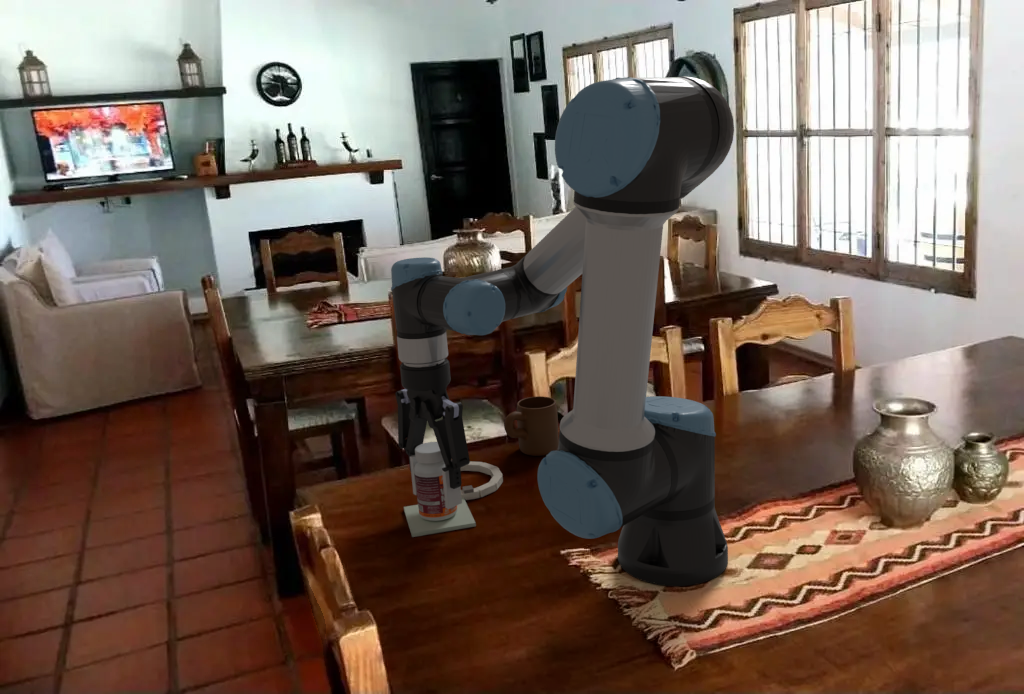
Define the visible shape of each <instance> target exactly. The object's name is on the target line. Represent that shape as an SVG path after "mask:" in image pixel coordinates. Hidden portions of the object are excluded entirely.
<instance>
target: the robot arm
mask: <svg viewBox="0 0 1024 694" xmlns="http://www.w3.org/2000/svg"><path fill="white" fill-rule="evenodd" d="M734 134H735V125H734V116H733V113H732V109H731V107H730V105H729V103H728V101H727V99H726V98H725V96H724V95H723V94H722V92H720V91H719V90H718V89H717V88H716V87H714V85H712V84H711V83H708V82H707V81H705V80H703V79H700V78H697V77H692V76H683V75H682V76H681V75H679V76H678V75H677V76H671V77H630V76H626V77H616V78H613V79H612V78H611V79H608V80H607V79H606V80H599V81H596V82H593V83H591V84H589V85H587V86H585V87H583V88H582V89H580V90H579V91H578V93H576V94H575V96H574V97H573V98H572V99H571V100H570V101H569V102H568V103H567V105H566V106H565V108H564V109H563V112H561V115H560V118H559V121H558V123H557V127H556V131H555V138H554V156H555V162H556V165H557V168H558V169H560V170H561V171H562V174H561V177H562V179H563V181H564V182H565V183H566V184H567V185H568V186H569V188H570V189H572V191H573V190H574V191H573V192H574V193H573V206H575V207H574V208H573V209H572V210H571V211H569V213H567V215H565V216H564V217H563V218H562V219H561V220H560V221H559V222H558V223H557V224H556V225H555V226H554V227H553V228H552V229H551V230H550V231H549V232H547V234H545V236H544V237H542V239H541V240H539V242H538V243H536V245H534V247H533V248H532V249H530V250H529V251H528V252H527V254H525V255H524V256H523V257H522V258H521V259H520V260H519V261H518V262H517V263H516V264H514V265H512V266H510V267H505V268H500V269H496V270H492V271H487V272H483V273H479V274H474V275H470V276H464V277H454V276H453V277H452V276H445V275H443V273H444V272H443V269H442V266H441V262H440V261H439V260H438V259H437V258H435V257H413V258H412V257H411V258H404V259H401V260H397V261H395V262H394V263H393V264H392V266H391V267H390V273H391V287H390V291H391V295H392V302H393V303H392V305H393V310H394V311H393V312H394V321H395V328H396V343H397V354H398V359H399V361H400V362H401V364H400V365H399V369H400V372H399V373H400V380H401V385H402V387H403V388H404V389H400V390H397V391H396V392H395V399H396V404H397V430H398V431H397V432H398V434H397V436H398V437H397V441H398V443H397V444H398V448H399V449H401V450H402V449H404V450H405V454H406V455H408V462H409V463H408V464H409V470H410V473H411V474H410V475H411V482H412V483H411V484H412V494H413V495H414V496H417V491H416V483H415V475H414V467H415V465H416V463H417V461H416V458H415V448H416V447H417V446H418V445H421V444H423V443H424V440H425V434H426V429H427V424H428V426H429V428H431V429H432V430H433V433H434V437H435V440H436V442H438V445H439V448H440V451H441V454H442V457H443V461H444V464H445V467H444V468H442V475H443V486H444V497H445V508H447V509H450V508H452V507H454V506H457V505H459V504H461V503H462V499H461V490H462V489H461V488H462V483H463V482H462V471H461V470H460V468H461V467H463V466H465V465H468V464H469V463H470V461H471V459H470V455H469V449H468V444H467V437H466V431H465V425H464V421H463V410H464V409H463V408H464V407H463V403H462V402H461V401H458V402H453V401H452V400H450V398H449V397H450V396H449V395H448V391H447V388H448V386H449V384H450V383H451V380H452V378H451V377H452V375H451V367H450V366H451V365H450V361H449V360H448V356H449V349H448V348H449V347H448V336H447V331H453V332H456V333H460V334H461V335H464V334H465V335H467V336H487V335H490V334H492V333H493V332H494V331H495V330H496V329H497V328H498V327H499V326H500V325H501V324H502V323H503V322H506V321H509V320H514V319H517V318H521V317H525V316H528V315H532V314H538V313H539V314H540V313H544V312H546V311H548V310H549V309H552V308H554V307H555V308H556V307H557V306H558V305H560V304H561V303H562V302H563V301H564V299H565V296H566V293H567V290H568V286H570V285H571V284H572V283H573V282H575V280H577V278H579V277H580V276H582V277H581V286H580V287H581V288H580V289H581V291H580V304H579V317H578V318H579V319H578V320H579V321H578V333H577V334H578V335H577V348H576V362H575V363H576V364H575V378H574V379H575V380H574V392H573V393H574V394H573V407H572V408H573V409H572V410H570V411H569V412H568V413H566V414H565V415H564V416H563V417H562V418H561V420H560V423H559V429H558V437H559V446H558V449H557V450H555V451H551V452H550V453H549V454H548V455H545V457H543V458H542V459H541V461H540V463H539V465H538V468H537V477H536V478H537V485H538V490H539V493H540V496H541V498H542V501H543V503H544V505H545V506H546V508H547V509H548V511H549V512H550V515H551V516H552V517H553V519H554V520H555V521H556V522H557V523H558V524H559V526H561V527H562V528H563V529H565V530H566V531H567V532H569V533H571V534H572V535H573V536H576V537H579V538H582V539H587V540H588V539H591V540H592V539H597V538H600V537H602V536H606V535H608V534H610V533H611V534H612V533H614V532H617V531H618V530H620V529H621V531H620V535H619V537H618V540H617V541H618V542H617V560H618V563H619V565H620V567H621V568H622V569H623V570H624V572H626V573H627V574H629V575H630V576H632V577H633V578H636V579H638V580H640V581H643V582H647V583H650V584H655V585H658V586H665V587H666V586H667V587H668V586H669V587H670V586H671V587H682V586H683V587H684V586H686V587H687V586H692V585H698V584H702V583H706V582H709V581H711V580H714V579H715V578H717V577H718V576H720V575H721V574H722V573H723V572H724V571H725V570H726V568H727V566H728V564H729V561H728V560H729V551H728V550H729V548H728V547H729V546H728V542H727V539H726V536H725V534H724V531H723V528H722V525H721V521H720V520H719V517H718V514H717V511H716V508H715V503H716V502H715V499H716V498H715V497H716V494H715V492H716V491H715V490H716V489H715V483H716V482H715V475H716V474H715V473H716V472H715V466H716V465H715V460H716V459H715V453H716V452H715V449H716V448H715V447H716V446H715V445H716V443H715V441H716V440H715V439H716V438H715V437H717V433H716V432H715V422H714V421H715V420H714V413H713V412H712V411H711V409H710V408H709V407H708V406H707V405H705V404H703V403H701V402H699V401H695V400H692V399H689V398H688V399H687V398H683V397H674V396H661V395H660V396H659V395H658V396H655V395H654V396H652V395H651V396H647V394H648V393H647V392H648V380H649V373H650V372H649V371H650V363H651V362H650V361H651V352H652V351H651V350H652V342H653V341H652V340H653V331H654V324H655V323H654V319H655V310H656V301H657V292H658V291H657V290H658V281H659V272H660V271H659V269H660V262H661V261H660V259H661V251H662V242H663V241H662V240H663V229H664V225H665V223H666V222H667V221H668V220H669V219H670V218H672V217H673V216H674V215H675V214H677V213H678V212H679V211H680V210H679V209H680V201H681V199H683V198H685V197H686V196H688V195H689V194H690V193H691V192H693V190H695V189H696V188H697V187H699V186H700V185H701V184H702V183H704V182H705V181H706V180H707V179H708V178H709V177H710V176H712V174H714V172H716V170H718V169H719V168H720V166H721V165H722V164H723V163H724V161H725V160H726V158H727V156H728V155H729V153H730V150H731V147H732V144H733V141H734ZM441 418H442V419H441ZM439 419H440V420H439ZM451 460H452V461H451Z"/></svg>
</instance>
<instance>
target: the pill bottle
mask: <svg viewBox="0 0 1024 694" xmlns="http://www.w3.org/2000/svg"><path fill="white" fill-rule="evenodd" d="M415 458H416V461H417V463H416V465H415V467H414V475H415V483H416V491H417V495H416V498H417V499H416V500H417V505H418V508H419V515H420V516H421V518H423V519H425V520H429V521H441V520H445V519H448V518H450V517H452V516H454V515H455V514H456V512H457V506H454V507H452V508H450V509H447V508H445V497H444V486H443V475H442V468H444V467H445V464H444V461H443V457H442V454H441V451H440V448H439V445H438V442H437V441H427V442H423V444H421V445H418V446H417V447H416V448H415Z"/></svg>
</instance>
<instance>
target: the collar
mask: <svg viewBox="0 0 1024 694" xmlns="http://www.w3.org/2000/svg"><path fill="white" fill-rule="evenodd" d="M451 461H452V459H451ZM460 470H461V472H463V471H466V472H468V471H469V472H480V473H483V474H485V475H489V476H490V477H491V478H490V480H489V481H488V482H486V483H483V484H482V485H480V486H477V487H473V485H472V484H471V485H465V486H461V488H462V489H461V497H464V499H465V501H469V500H475V499H480V498H483V497H485V496H487V495H490V494H492V493H494V492H496V491H497V490H498V489H499V488H500V487H501V485H502V484H503V483H504V477H503V476H504V475H503V473H502V471H501V470H500V468H499V467H498V466H496V465H493V464H490V463H487V462H483V461H471V460H470V463H469V464H468V465H465V466H463V467H461V468H460Z"/></svg>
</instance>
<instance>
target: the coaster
mask: <svg viewBox="0 0 1024 694" xmlns="http://www.w3.org/2000/svg"><path fill="white" fill-rule="evenodd" d="M461 499H462V503H461V504H459V505H457V512H456V514H455V515H454V516H452V517H450V518H448V519H445V520H441V521H429V520H425V519H423V518H421V516H420V515H419V508H418V504H413V505H407V506H406V505H405V506H403V512H404V515H405V518H406V522H407V524H408V528H409V531H410V534H411V538H414V537H415V538H416V537H422V536H427V535H434V534H440V533H444V532H451V531H455V530H462V529H469V528H473V527H474V528H475V527H476V526H477V523H476V520H475V519H474V516H473V514H472V512H471V509H470V507H469V506H468V503H467V502H466V501H467V500H465V499H464V497H461Z"/></svg>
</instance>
